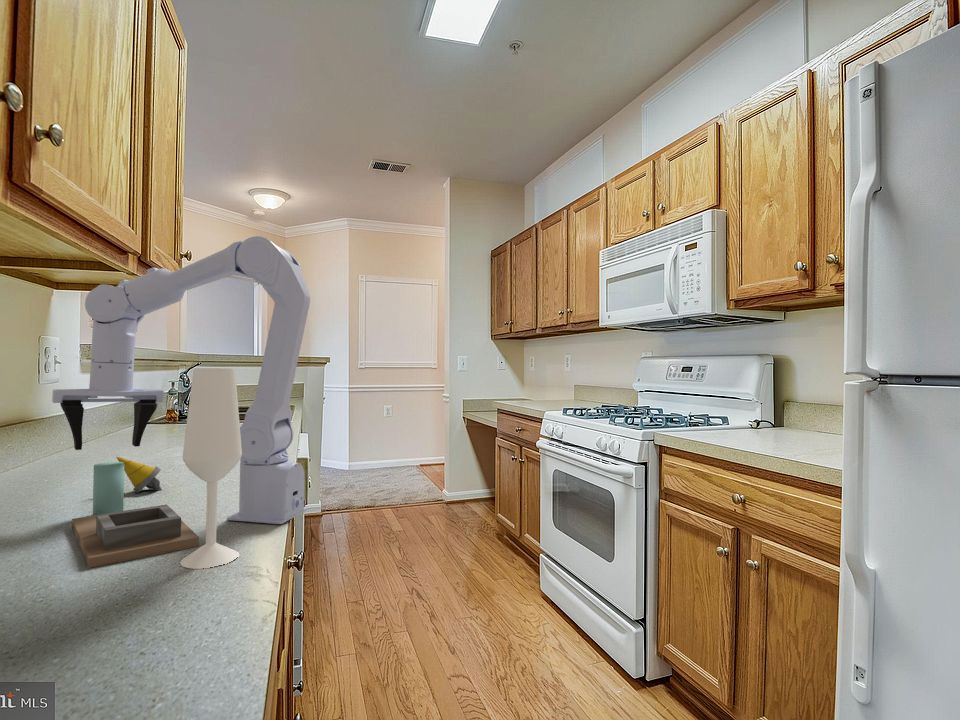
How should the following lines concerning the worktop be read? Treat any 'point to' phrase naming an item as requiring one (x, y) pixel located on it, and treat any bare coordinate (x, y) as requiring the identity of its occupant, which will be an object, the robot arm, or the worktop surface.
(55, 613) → the worktop surface
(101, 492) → the peg
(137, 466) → the yellow cone with base
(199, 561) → the champagne flute
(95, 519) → the dock board
